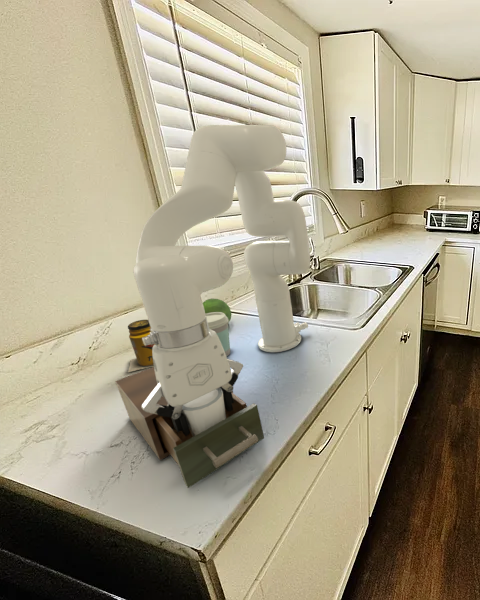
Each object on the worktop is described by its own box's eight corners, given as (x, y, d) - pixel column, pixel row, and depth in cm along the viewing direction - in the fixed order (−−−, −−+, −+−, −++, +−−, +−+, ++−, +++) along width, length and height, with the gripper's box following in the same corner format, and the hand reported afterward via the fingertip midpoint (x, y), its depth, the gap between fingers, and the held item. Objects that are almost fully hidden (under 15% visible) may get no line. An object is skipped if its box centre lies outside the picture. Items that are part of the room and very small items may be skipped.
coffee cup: (241, 349, 97) (234, 313, 93) (218, 364, 90) (208, 325, 85) (219, 345, 100) (211, 309, 95) (195, 359, 92) (184, 321, 88)
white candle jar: (186, 447, 56) (175, 415, 53) (189, 422, 62) (180, 392, 59) (230, 433, 59) (222, 402, 56) (229, 410, 64) (222, 381, 62)
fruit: (200, 320, 117) (193, 294, 113) (230, 314, 122) (225, 289, 118) (201, 337, 105) (194, 308, 101) (235, 329, 110) (229, 302, 106)
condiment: (166, 363, 91) (154, 324, 86) (128, 373, 86) (113, 332, 82) (166, 352, 96) (155, 315, 92) (130, 360, 92) (117, 322, 88)
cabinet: (238, 416, 71) (229, 377, 67) (160, 460, 60) (144, 418, 56) (202, 385, 81) (193, 351, 77) (130, 419, 70) (115, 381, 66)
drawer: (279, 451, 60) (273, 417, 57) (202, 506, 50) (189, 469, 47) (223, 404, 73) (216, 374, 70) (152, 441, 63) (140, 408, 60)
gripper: (123, 362, 44) (159, 460, 51) (245, 319, 57) (262, 402, 64) (108, 346, 49) (143, 438, 55) (225, 310, 61) (242, 388, 68)
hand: (207, 418), depth 59 cm, fingers closed on white candle jar, 6 cm apart
